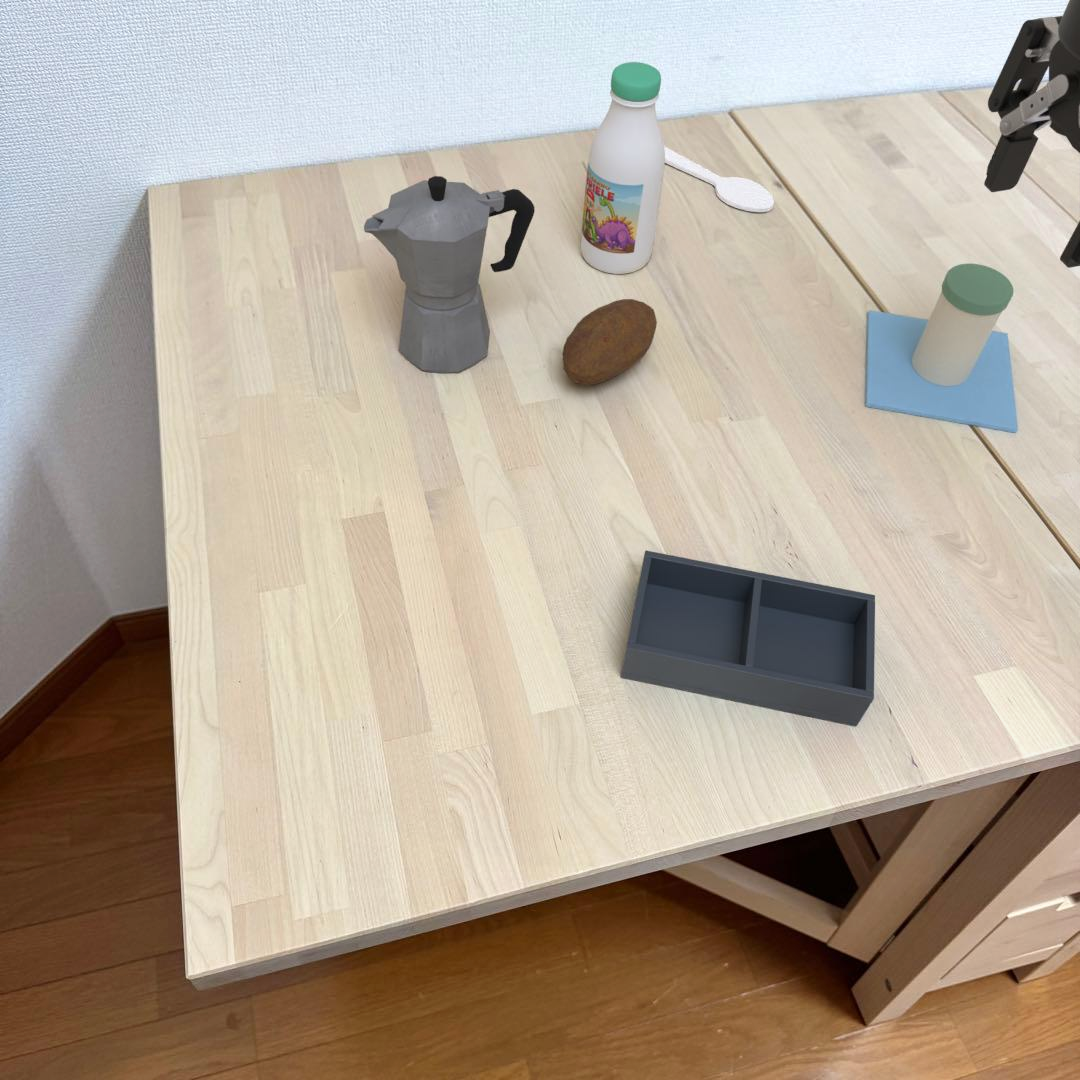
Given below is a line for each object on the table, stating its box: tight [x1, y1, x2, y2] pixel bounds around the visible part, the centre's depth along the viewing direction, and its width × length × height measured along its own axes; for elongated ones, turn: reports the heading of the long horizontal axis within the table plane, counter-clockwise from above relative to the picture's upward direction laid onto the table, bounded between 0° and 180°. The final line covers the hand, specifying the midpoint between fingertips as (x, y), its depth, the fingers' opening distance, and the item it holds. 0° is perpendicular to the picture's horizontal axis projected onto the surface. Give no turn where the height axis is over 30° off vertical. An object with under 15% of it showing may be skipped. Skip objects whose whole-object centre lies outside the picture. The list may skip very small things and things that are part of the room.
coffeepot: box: [363, 175, 536, 374], centre depth 91 cm, size 15×9×18 cm, turn 110°
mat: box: [865, 309, 1019, 434], centre depth 98 cm, size 14×14×1 cm
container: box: [912, 263, 1014, 386], centre depth 94 cm, size 6×6×10 cm
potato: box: [561, 298, 658, 386], centre depth 94 cm, size 7×12×7 cm, turn 142°
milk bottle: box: [580, 61, 666, 275], centre depth 100 cm, size 8×8×20 cm
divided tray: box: [620, 550, 876, 727], centre depth 76 cm, size 9×18×4 cm, turn 78°
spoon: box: [664, 145, 775, 213], centre depth 117 cm, size 5×18×1 cm, turn 48°
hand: (1035, 223), depth 66 cm, fingers open, 8 cm apart
